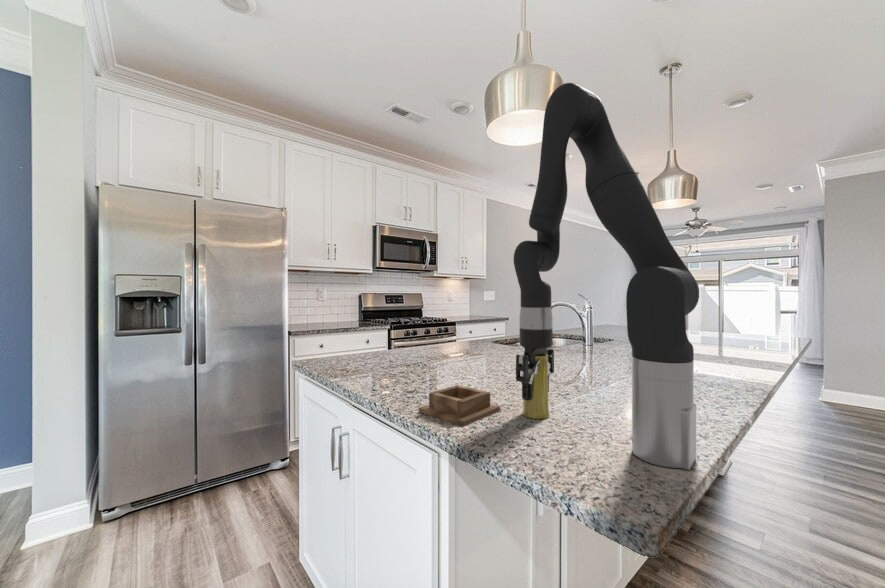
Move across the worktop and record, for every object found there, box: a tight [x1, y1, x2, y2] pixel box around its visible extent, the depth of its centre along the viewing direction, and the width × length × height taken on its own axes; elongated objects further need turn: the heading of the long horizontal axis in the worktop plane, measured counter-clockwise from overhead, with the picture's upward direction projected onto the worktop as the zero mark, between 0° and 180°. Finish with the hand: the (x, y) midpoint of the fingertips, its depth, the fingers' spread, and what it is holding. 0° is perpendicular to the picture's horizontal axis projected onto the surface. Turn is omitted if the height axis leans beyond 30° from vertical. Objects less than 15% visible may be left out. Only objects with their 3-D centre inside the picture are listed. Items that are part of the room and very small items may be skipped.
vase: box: [522, 354, 550, 420], centre depth 86 cm, size 6×6×14 cm
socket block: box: [418, 384, 501, 427], centre depth 89 cm, size 14×14×4 cm
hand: (535, 395), depth 86 cm, fingers open, 7 cm apart
